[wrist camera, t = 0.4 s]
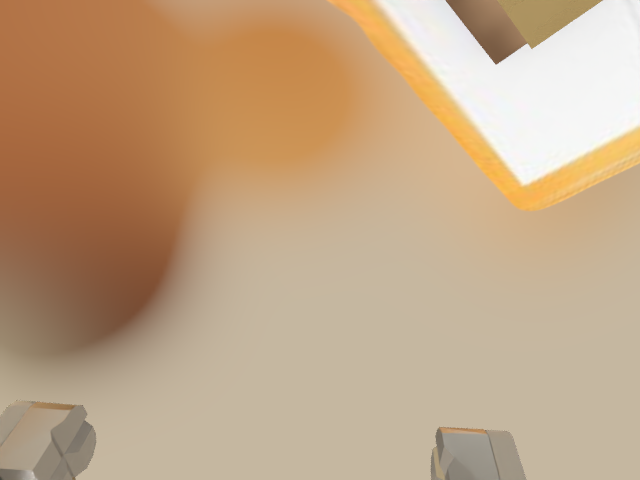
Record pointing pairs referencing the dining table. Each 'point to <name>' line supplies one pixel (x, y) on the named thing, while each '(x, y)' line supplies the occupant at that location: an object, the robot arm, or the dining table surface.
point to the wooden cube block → (543, 16)
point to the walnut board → (489, 26)
